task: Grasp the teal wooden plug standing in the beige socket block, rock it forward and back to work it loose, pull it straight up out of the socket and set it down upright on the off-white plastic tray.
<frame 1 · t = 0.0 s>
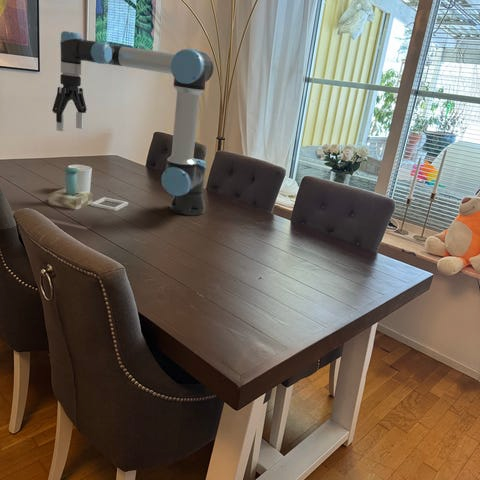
hand: (70, 129, 183), 28 cm above the table, fingers open, 13 cm apart
plug: (70, 203, 180), point 1 cm above the table, touching beige socket block
candle holder: (79, 194, 196), on the table
beige socket block: (70, 205, 180), on the table
tray: (109, 207, 185), on the table
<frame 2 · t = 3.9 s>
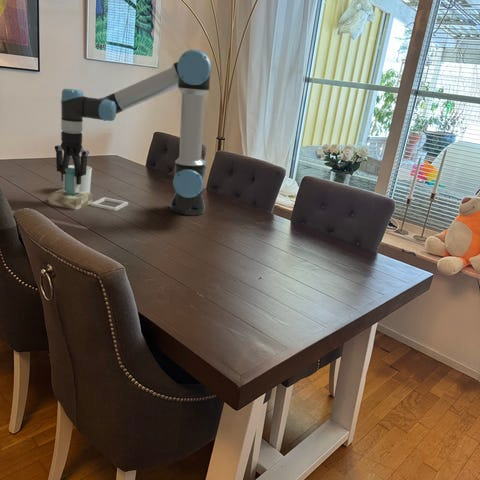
hand: (71, 190, 178), 6 cm above the table, fingers closed on plug, 4 cm apart
plug: (71, 203, 180), point 1 cm above the table, touching gripper, beige socket block
everything else where it was.
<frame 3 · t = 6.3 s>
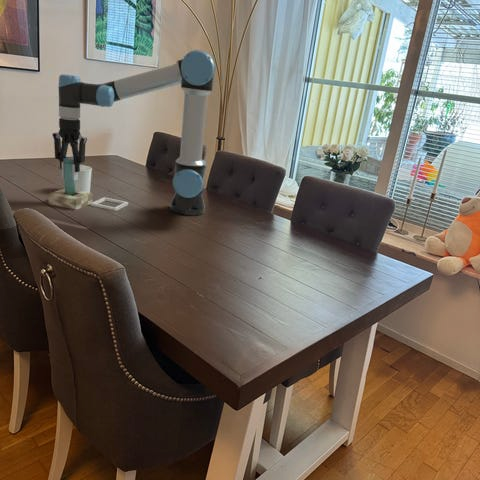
hand: (69, 178, 177), 11 cm above the table, fingers closed on plug, 4 cm apart
plug: (70, 193, 179), point 5 cm above the table, touching gripper
everything else where it was.
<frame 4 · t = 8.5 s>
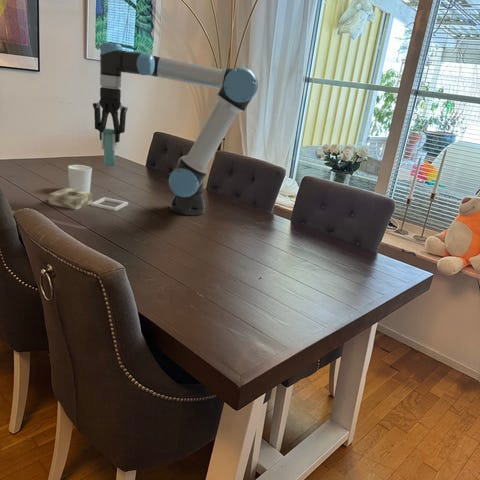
hand: (109, 149, 176), 24 cm above the table, fingers closed on plug, 4 cm apart
plug: (109, 165, 178), point 18 cm above the table, touching gripper
everything else where it was.
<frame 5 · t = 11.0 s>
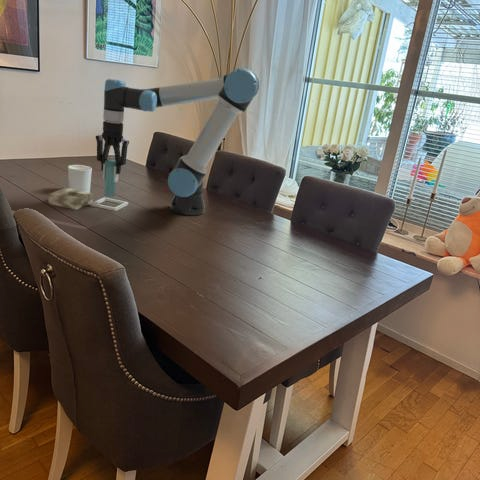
hand: (110, 180, 181), 12 cm above the table, fingers closed on plug, 4 cm apart
plug: (109, 195, 183), point 5 cm above the table, touching gripper
everything else where it was.
when the fingers open (7 cm above the table, at t = 12.3 s): plug stays where it is, resting on tray.
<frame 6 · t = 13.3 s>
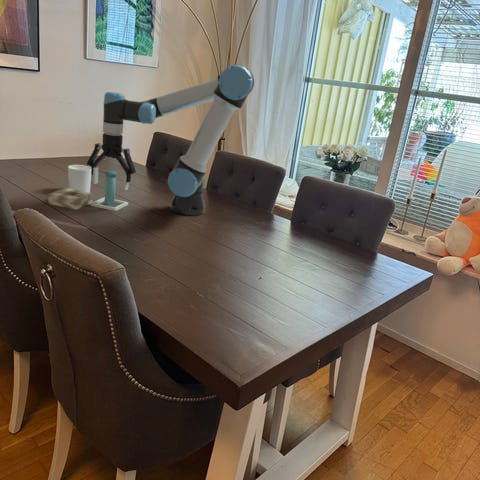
hand: (110, 186, 182), 9 cm above the table, fingers open, 13 cm apart
plug: (109, 205, 185), point 1 cm above the table, touching tray
everything else where it was.
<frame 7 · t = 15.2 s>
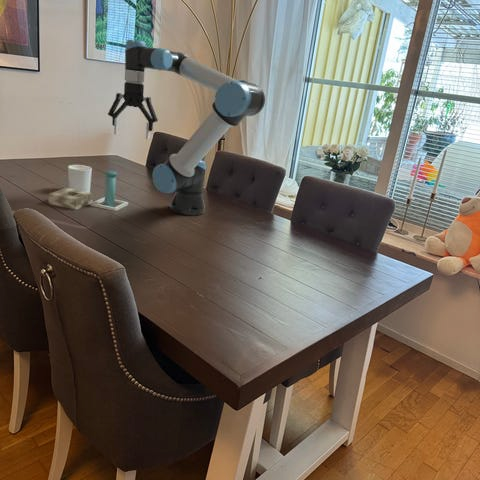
hand: (132, 136, 184), 29 cm above the table, fingers open, 13 cm apart
nothing on the table moved.
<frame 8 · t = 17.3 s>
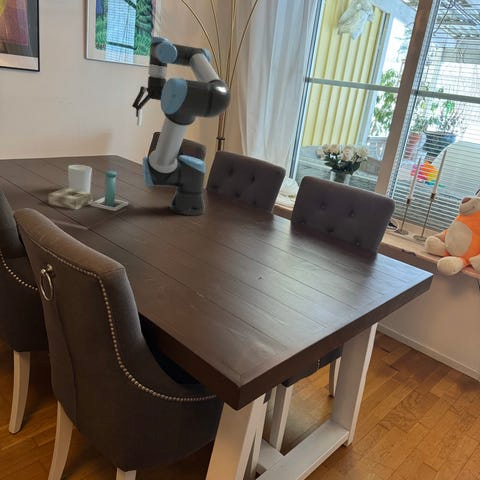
hand: (153, 127, 197), 32 cm above the table, fingers open, 13 cm apart
nothing on the table moved.
at the end: plug inside the target area on the tray (0.1 cm from its centre), point 0.8 cm above the tray's base; plug touching tray; plug tilted 0° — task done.
